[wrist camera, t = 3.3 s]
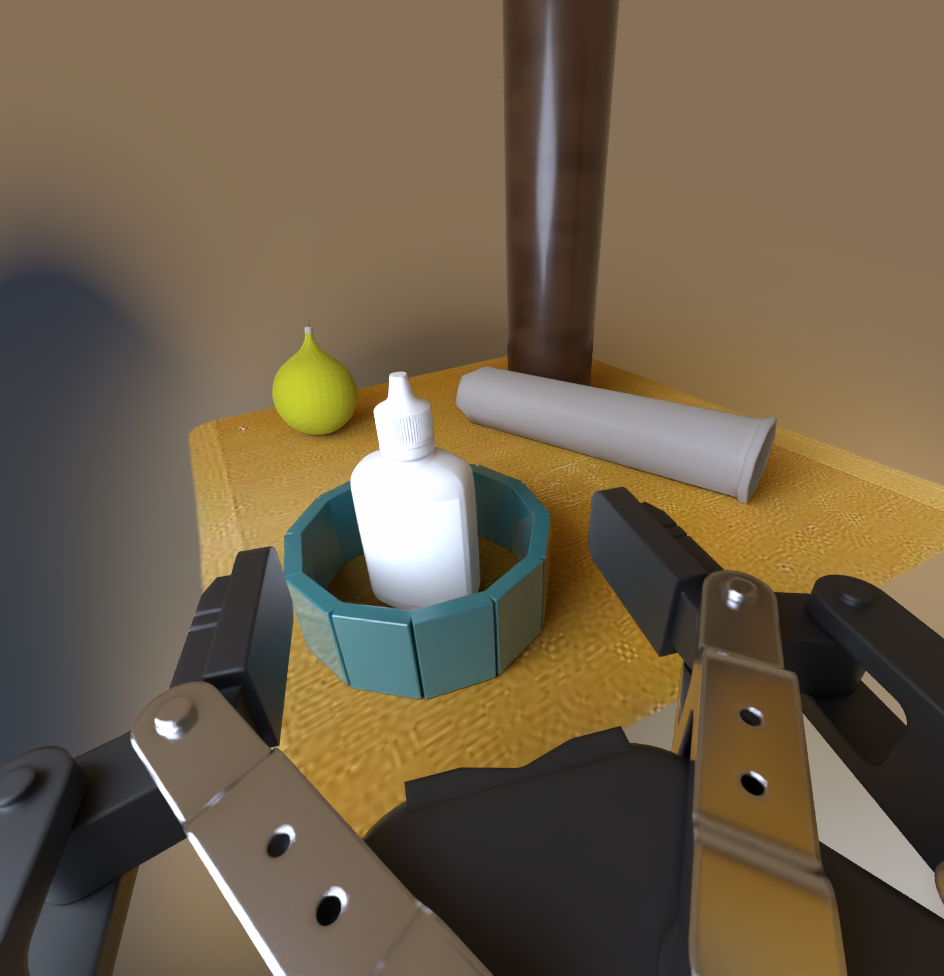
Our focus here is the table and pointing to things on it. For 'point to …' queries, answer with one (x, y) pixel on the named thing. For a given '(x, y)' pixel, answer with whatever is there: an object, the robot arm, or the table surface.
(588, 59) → the stand
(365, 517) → the eye dropper bottle
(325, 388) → the ornament
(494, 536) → the teal segmented ring
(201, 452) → the table surface
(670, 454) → the tube
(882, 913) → the robot arm
